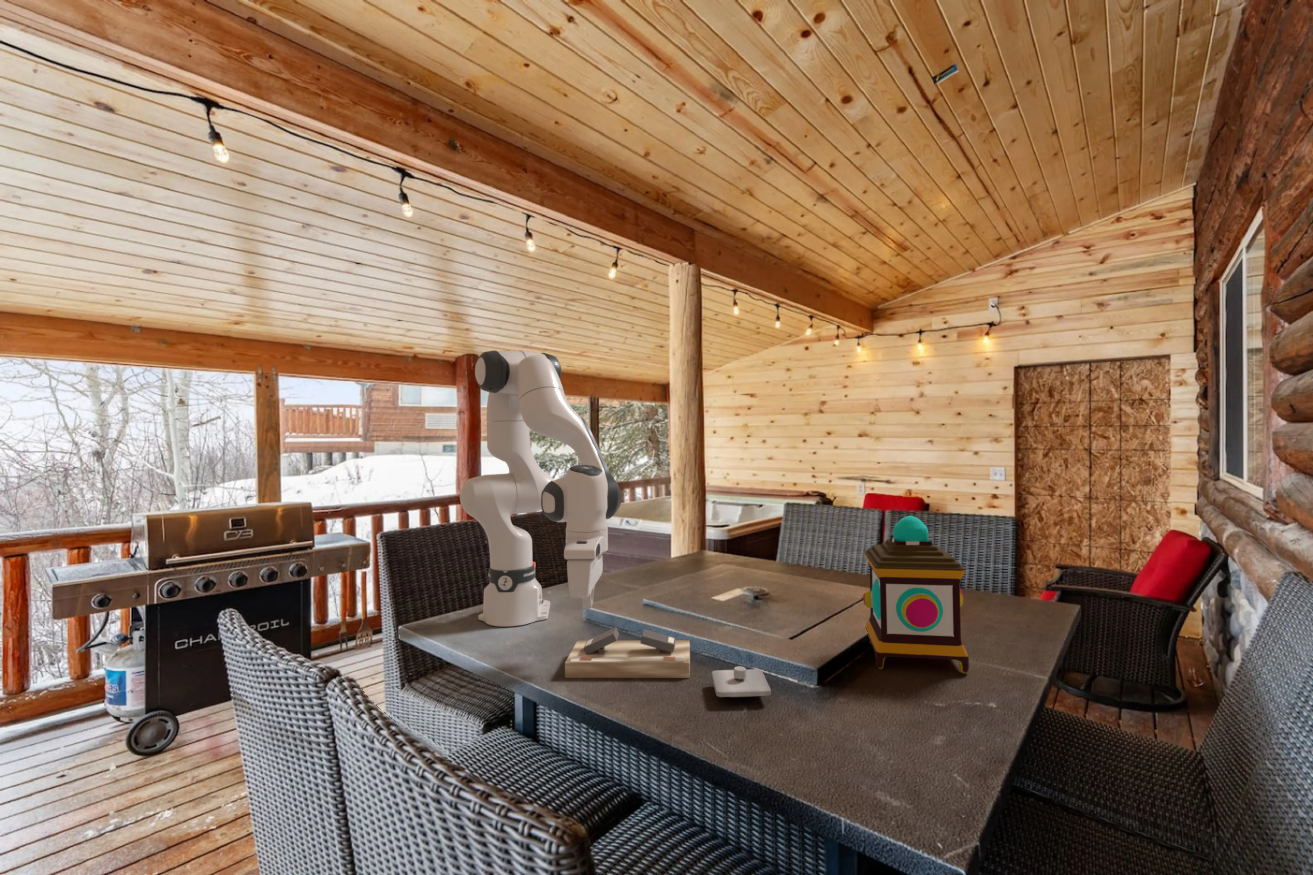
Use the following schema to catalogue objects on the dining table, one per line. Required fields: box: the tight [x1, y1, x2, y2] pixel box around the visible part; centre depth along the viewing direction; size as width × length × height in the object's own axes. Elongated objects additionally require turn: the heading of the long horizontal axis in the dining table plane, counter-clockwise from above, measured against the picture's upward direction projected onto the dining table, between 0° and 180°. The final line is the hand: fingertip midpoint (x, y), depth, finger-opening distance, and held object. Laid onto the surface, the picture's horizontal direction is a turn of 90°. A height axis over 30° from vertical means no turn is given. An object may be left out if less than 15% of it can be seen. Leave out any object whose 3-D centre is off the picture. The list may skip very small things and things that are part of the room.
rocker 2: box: [640, 628, 677, 653], centre depth 127 cm, size 4×7×2 cm, turn 86°
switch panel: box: [564, 639, 691, 679], centre depth 127 cm, size 13×25×4 cm, turn 86°
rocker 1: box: [584, 626, 620, 655], centre depth 127 cm, size 4×7×2 cm, turn 86°
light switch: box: [711, 665, 772, 698], centre depth 112 cm, size 10×10×5 cm
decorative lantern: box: [862, 515, 970, 674], centre depth 128 cm, size 20×20×30 cm
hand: (587, 606), depth 128 cm, fingers closed
